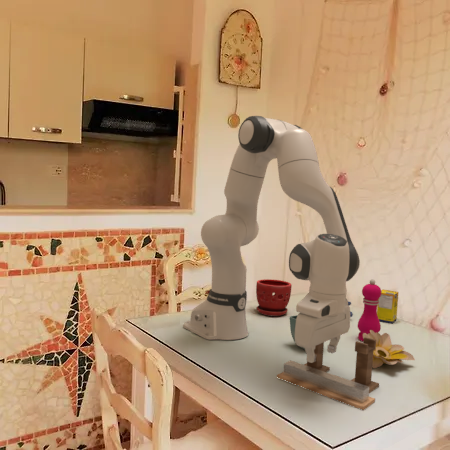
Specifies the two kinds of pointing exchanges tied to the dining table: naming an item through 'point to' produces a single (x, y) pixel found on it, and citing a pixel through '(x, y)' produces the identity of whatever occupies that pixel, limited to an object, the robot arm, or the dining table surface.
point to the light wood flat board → (328, 393)
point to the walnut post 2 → (365, 363)
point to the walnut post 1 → (318, 359)
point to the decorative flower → (386, 350)
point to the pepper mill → (369, 310)
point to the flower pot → (293, 327)
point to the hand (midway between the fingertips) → (321, 356)
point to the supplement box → (387, 306)
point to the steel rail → (327, 381)
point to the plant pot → (273, 296)
